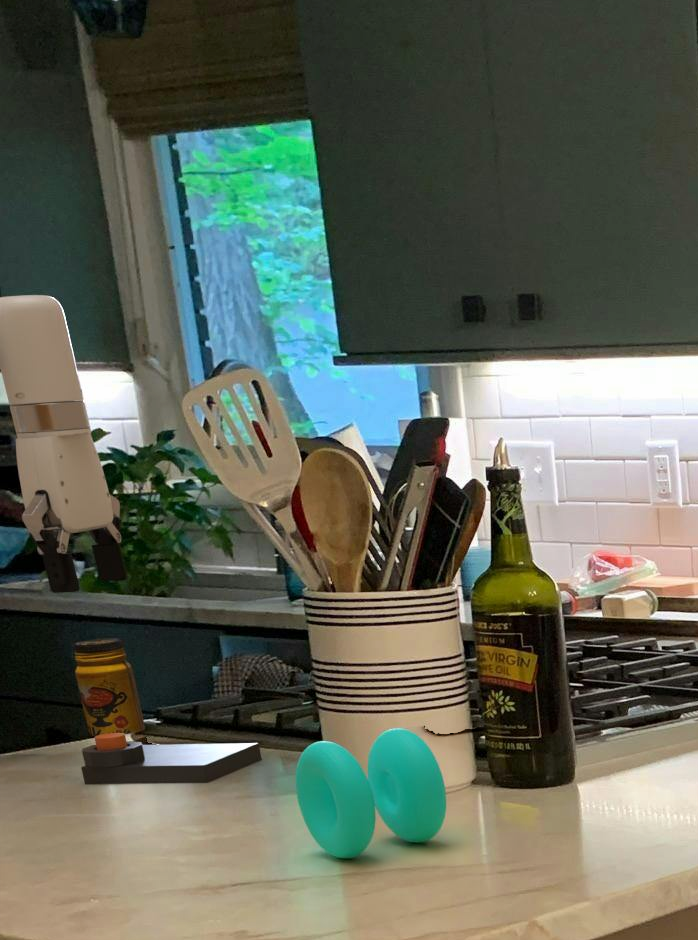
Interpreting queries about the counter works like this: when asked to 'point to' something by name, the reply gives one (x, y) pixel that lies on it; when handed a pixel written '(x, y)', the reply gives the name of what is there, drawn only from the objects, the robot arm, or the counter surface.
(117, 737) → the button
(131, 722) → the condiment
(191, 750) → the scale
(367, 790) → the donuts
